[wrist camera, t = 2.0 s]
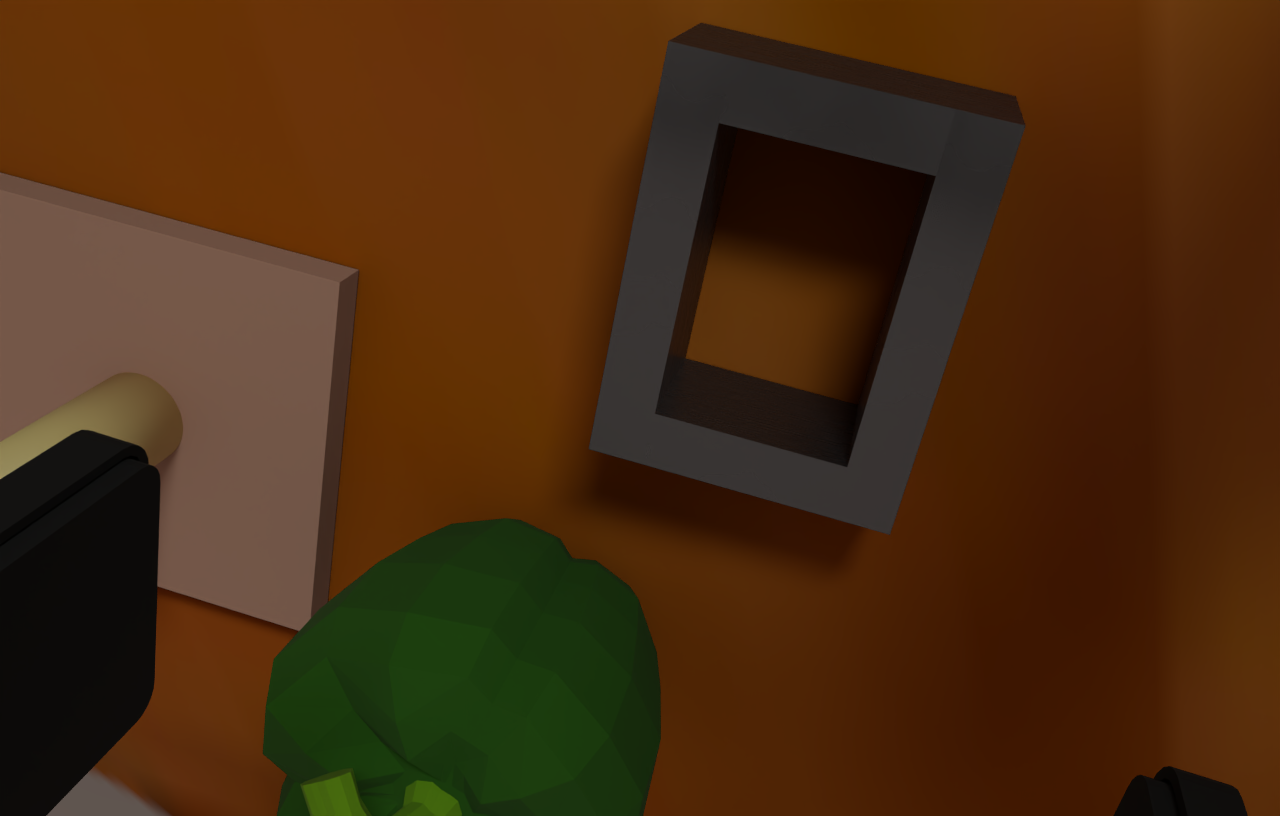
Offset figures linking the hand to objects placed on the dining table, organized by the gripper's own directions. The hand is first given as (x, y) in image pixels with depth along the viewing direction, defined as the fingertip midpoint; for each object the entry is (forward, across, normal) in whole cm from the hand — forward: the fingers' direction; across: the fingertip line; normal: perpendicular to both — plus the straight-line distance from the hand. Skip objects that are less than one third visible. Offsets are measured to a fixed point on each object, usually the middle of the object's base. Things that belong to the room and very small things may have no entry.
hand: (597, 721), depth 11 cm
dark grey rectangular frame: (+16, 0, 0) cm, 16 cm away
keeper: (+16, +15, +8) cm, 23 cm away
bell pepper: (+16, +4, +11) cm, 20 cm away
